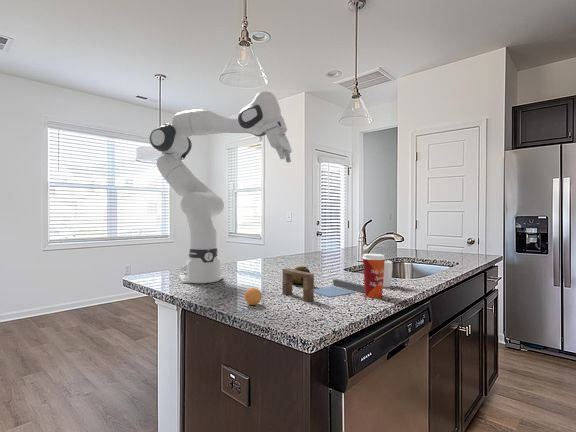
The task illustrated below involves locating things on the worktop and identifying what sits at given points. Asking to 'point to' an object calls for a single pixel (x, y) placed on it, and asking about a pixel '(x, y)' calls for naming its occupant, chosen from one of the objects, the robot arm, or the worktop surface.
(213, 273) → the robot arm
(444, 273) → the worktop surface
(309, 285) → the bridge
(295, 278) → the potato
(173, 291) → the worktop surface
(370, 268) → the coffee cup
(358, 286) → the grey long bar
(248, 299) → the ball
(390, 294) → the worktop surface
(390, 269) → the white cup
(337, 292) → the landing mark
